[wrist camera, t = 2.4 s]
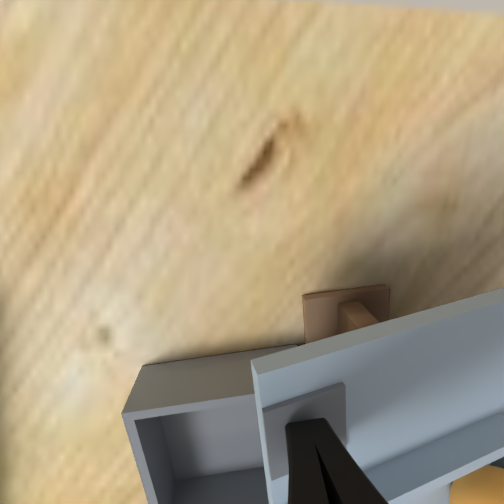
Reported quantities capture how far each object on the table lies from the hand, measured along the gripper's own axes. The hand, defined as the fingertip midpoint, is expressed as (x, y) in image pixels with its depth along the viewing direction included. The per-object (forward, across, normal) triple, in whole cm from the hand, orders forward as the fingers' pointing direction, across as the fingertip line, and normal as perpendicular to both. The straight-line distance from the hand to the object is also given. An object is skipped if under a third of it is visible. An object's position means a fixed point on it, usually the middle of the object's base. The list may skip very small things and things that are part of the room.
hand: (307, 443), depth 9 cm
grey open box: (+8, +3, +6) cm, 11 cm away
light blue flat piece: (+2, -4, +4) cm, 6 cm away
